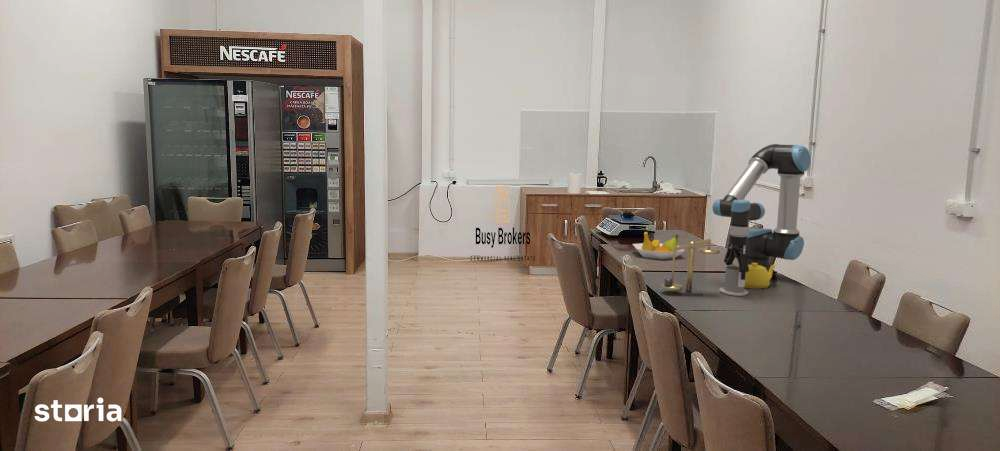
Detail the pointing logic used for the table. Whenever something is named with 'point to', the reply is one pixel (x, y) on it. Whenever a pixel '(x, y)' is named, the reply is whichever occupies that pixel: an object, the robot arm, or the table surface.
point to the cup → (732, 280)
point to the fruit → (658, 248)
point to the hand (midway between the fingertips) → (734, 283)
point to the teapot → (758, 276)
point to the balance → (688, 269)
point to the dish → (733, 292)
